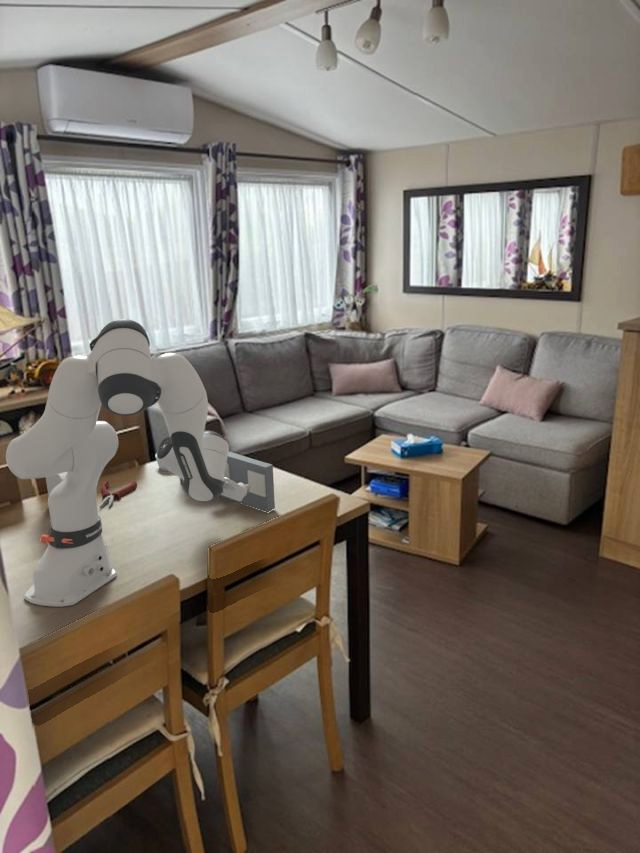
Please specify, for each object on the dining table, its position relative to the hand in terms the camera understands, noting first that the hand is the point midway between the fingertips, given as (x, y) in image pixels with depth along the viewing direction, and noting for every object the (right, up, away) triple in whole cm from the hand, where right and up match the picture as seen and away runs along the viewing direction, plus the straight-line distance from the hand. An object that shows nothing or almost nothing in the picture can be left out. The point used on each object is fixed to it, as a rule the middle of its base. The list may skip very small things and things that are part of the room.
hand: (231, 495), depth 185 cm
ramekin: (-29, +5, +51) cm, 59 cm away
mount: (+2, -4, +17) cm, 18 cm away
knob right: (+2, -1, +5) cm, 5 cm away
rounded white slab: (-51, -8, +9) cm, 52 cm away
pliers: (-44, -3, +26) cm, 51 cm away
